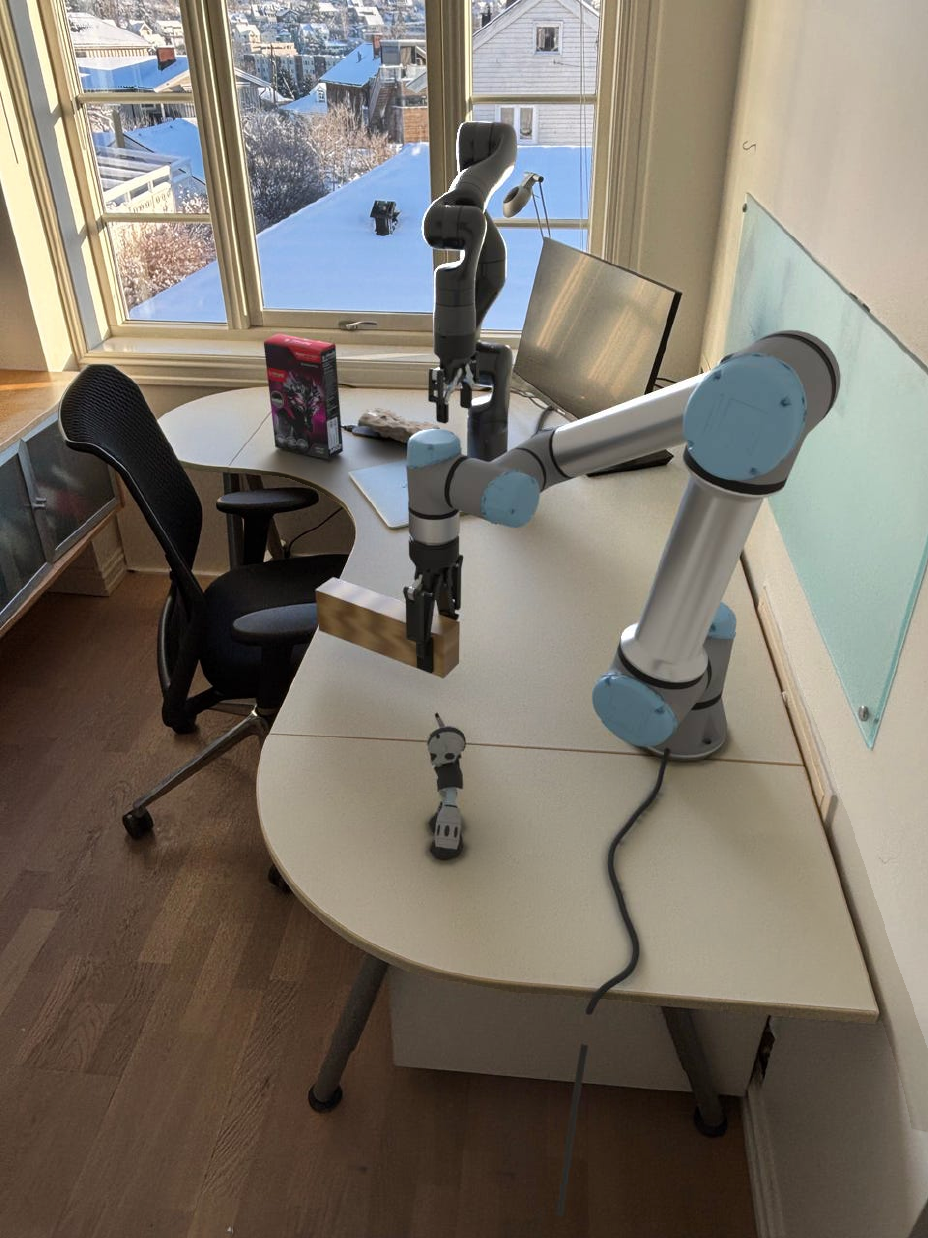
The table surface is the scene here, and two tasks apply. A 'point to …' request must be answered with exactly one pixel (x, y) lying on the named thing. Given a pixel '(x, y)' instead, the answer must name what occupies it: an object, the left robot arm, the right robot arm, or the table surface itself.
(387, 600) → the bar
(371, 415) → the stone
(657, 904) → the table surface
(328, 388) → the graphics card box
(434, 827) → the robot
